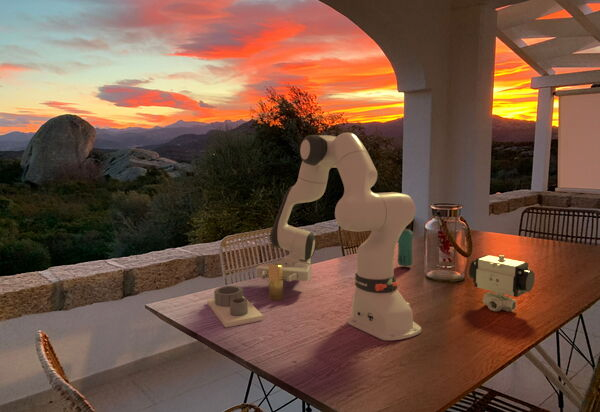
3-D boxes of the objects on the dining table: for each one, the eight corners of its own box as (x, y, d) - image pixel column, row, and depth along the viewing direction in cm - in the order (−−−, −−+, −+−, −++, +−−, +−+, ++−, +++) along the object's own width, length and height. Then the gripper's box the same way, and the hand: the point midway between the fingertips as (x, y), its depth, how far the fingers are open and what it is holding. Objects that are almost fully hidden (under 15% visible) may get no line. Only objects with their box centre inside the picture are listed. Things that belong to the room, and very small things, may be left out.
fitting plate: (263, 320, 130) (262, 302, 130) (225, 327, 125) (224, 309, 125) (241, 297, 150) (240, 282, 149) (207, 303, 145) (206, 287, 144)
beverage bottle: (412, 265, 188) (413, 221, 185) (412, 270, 181) (413, 224, 179) (397, 265, 189) (398, 221, 187) (397, 269, 183) (397, 223, 180)
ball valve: (465, 304, 141) (467, 252, 139) (477, 298, 146) (480, 248, 144) (521, 321, 127) (524, 263, 125) (532, 313, 133) (536, 258, 130)
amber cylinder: (285, 299, 148) (284, 266, 147) (272, 301, 146) (271, 268, 145) (279, 294, 153) (279, 262, 151) (267, 297, 151) (266, 264, 149)
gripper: (264, 257, 164) (248, 267, 151) (314, 261, 157) (302, 271, 144) (264, 273, 165) (248, 284, 152) (314, 278, 158) (302, 289, 145)
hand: (275, 278), depth 148 cm, fingers open, 8 cm apart
